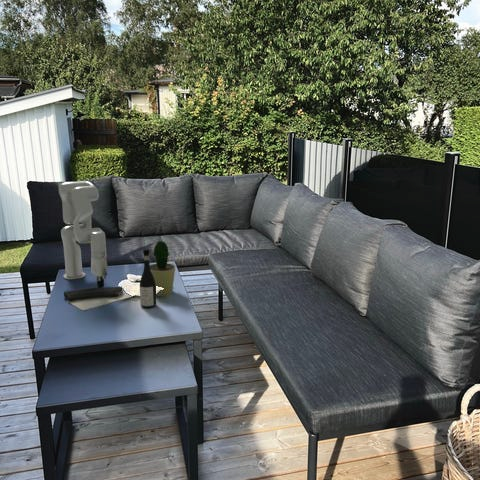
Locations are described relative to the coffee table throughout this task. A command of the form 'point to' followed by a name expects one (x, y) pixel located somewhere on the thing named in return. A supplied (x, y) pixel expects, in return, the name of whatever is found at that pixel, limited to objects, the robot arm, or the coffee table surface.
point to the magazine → (93, 293)
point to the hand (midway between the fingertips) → (100, 287)
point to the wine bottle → (147, 284)
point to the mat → (97, 301)
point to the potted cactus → (162, 269)
